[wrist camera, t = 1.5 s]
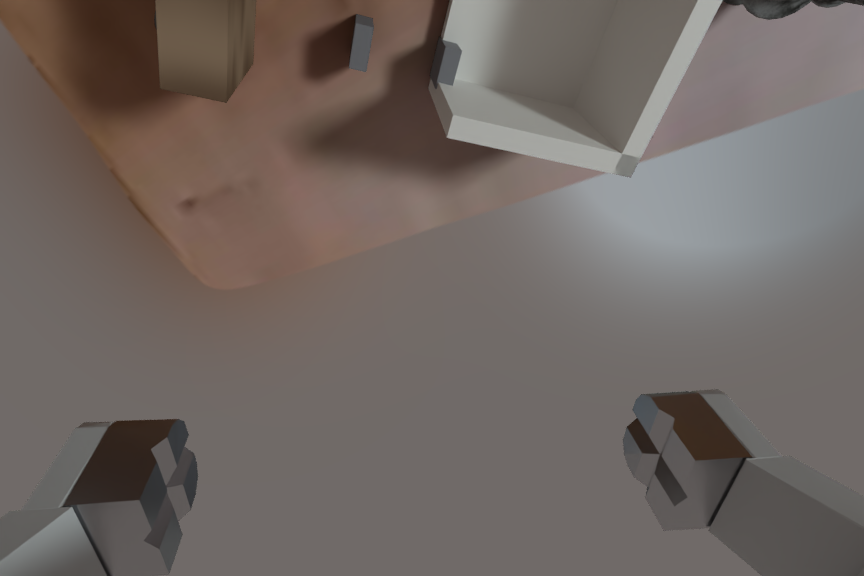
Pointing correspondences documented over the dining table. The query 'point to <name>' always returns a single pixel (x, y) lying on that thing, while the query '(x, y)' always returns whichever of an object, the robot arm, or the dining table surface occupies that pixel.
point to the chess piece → (784, 6)
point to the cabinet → (559, 74)
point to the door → (204, 45)
